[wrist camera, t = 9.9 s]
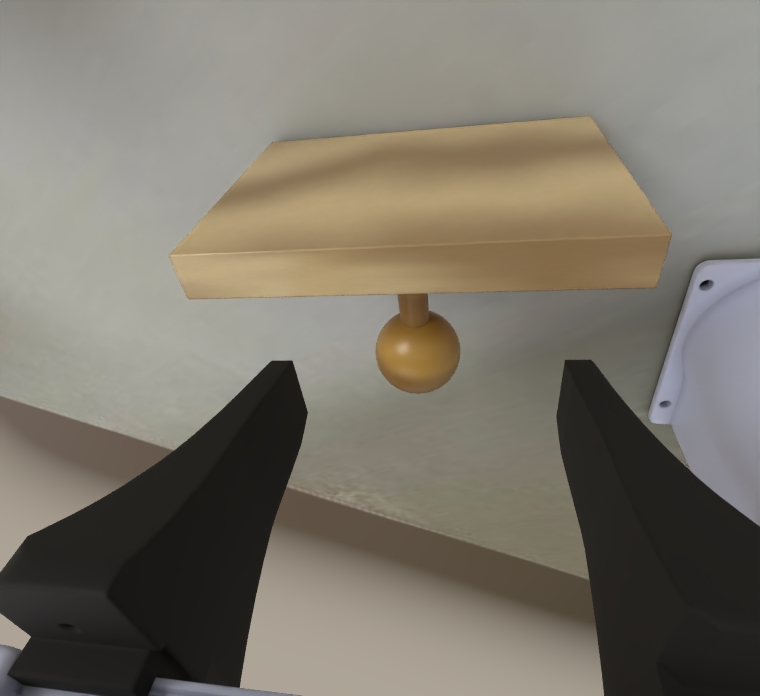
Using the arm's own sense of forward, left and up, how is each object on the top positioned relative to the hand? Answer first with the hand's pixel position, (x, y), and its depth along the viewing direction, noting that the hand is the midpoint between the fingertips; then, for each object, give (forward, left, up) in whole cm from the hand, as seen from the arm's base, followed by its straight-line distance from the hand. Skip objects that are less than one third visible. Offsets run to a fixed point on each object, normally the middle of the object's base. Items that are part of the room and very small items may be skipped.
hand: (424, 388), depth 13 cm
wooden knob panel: (+4, +1, -5) cm, 7 cm away
